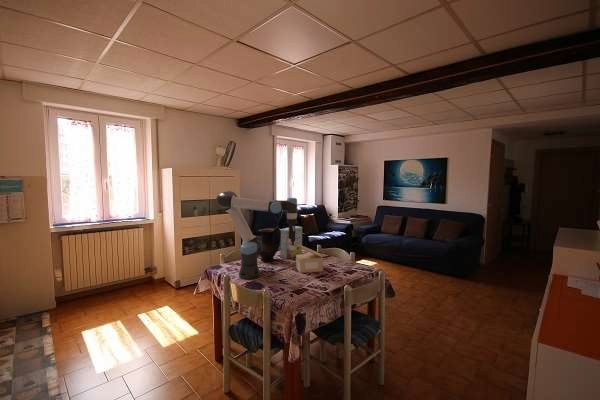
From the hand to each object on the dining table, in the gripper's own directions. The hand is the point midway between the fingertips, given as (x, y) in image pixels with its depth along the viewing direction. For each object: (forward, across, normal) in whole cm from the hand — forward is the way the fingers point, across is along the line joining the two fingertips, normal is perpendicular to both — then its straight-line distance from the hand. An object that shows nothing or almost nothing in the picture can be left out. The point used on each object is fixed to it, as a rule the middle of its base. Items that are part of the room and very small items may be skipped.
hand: (291, 248), depth 217 cm
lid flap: (+2, 0, -10) cm, 10 cm away
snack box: (+17, +38, -8) cm, 42 cm away
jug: (+17, +28, +14) cm, 36 cm away
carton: (+17, 0, -14) cm, 22 cm away
